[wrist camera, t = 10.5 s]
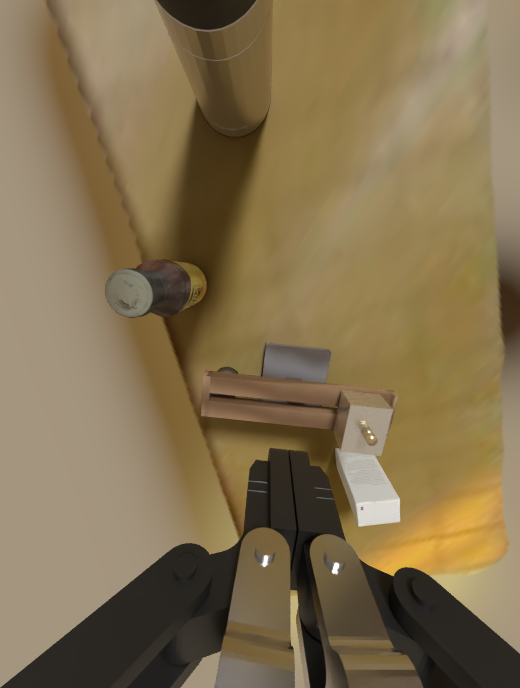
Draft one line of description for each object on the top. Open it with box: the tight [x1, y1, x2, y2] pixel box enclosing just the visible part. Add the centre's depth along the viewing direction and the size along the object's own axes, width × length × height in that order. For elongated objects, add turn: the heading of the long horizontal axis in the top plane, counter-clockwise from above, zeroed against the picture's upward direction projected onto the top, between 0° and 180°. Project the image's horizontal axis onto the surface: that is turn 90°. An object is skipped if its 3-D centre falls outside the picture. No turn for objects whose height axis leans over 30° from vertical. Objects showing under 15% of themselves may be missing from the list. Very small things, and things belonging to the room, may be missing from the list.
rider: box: [333, 390, 393, 456], centre depth 35 cm, size 6×5×8 cm
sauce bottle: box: [105, 260, 207, 318], centre depth 32 cm, size 6×6×20 cm
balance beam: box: [201, 343, 399, 436], centre depth 42 cm, size 12×26×9 cm, turn 84°
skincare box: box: [335, 448, 400, 527], centre depth 44 cm, size 6×4×12 cm
